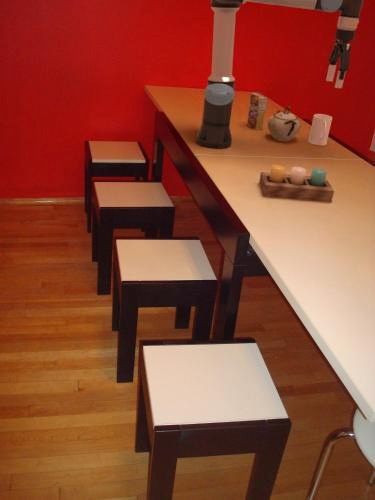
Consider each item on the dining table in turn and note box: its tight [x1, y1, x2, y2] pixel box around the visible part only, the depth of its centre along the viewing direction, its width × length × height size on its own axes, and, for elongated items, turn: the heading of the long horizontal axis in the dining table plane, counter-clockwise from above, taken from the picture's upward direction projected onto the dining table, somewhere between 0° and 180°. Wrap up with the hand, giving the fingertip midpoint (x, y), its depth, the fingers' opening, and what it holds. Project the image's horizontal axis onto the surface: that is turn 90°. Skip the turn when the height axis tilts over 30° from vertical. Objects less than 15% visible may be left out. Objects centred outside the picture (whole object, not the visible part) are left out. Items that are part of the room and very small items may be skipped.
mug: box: [307, 113, 333, 147], centre depth 222 cm, size 12×8×12 cm
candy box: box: [246, 92, 268, 131], centre depth 236 cm, size 9×4×15 cm, turn 23°
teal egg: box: [309, 168, 328, 187], centre depth 168 cm, size 5×5×5 cm
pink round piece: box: [289, 166, 307, 185], centre depth 168 cm, size 5×5×5 cm
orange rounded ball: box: [269, 164, 286, 183], centre depth 168 cm, size 5×5×5 cm
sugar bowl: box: [267, 105, 302, 142], centre depth 223 cm, size 20×15×15 cm
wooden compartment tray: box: [258, 171, 335, 203], centre depth 170 cm, size 23×12×4 cm, turn 90°
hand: (333, 84), depth 207 cm, fingers open, 13 cm apart
